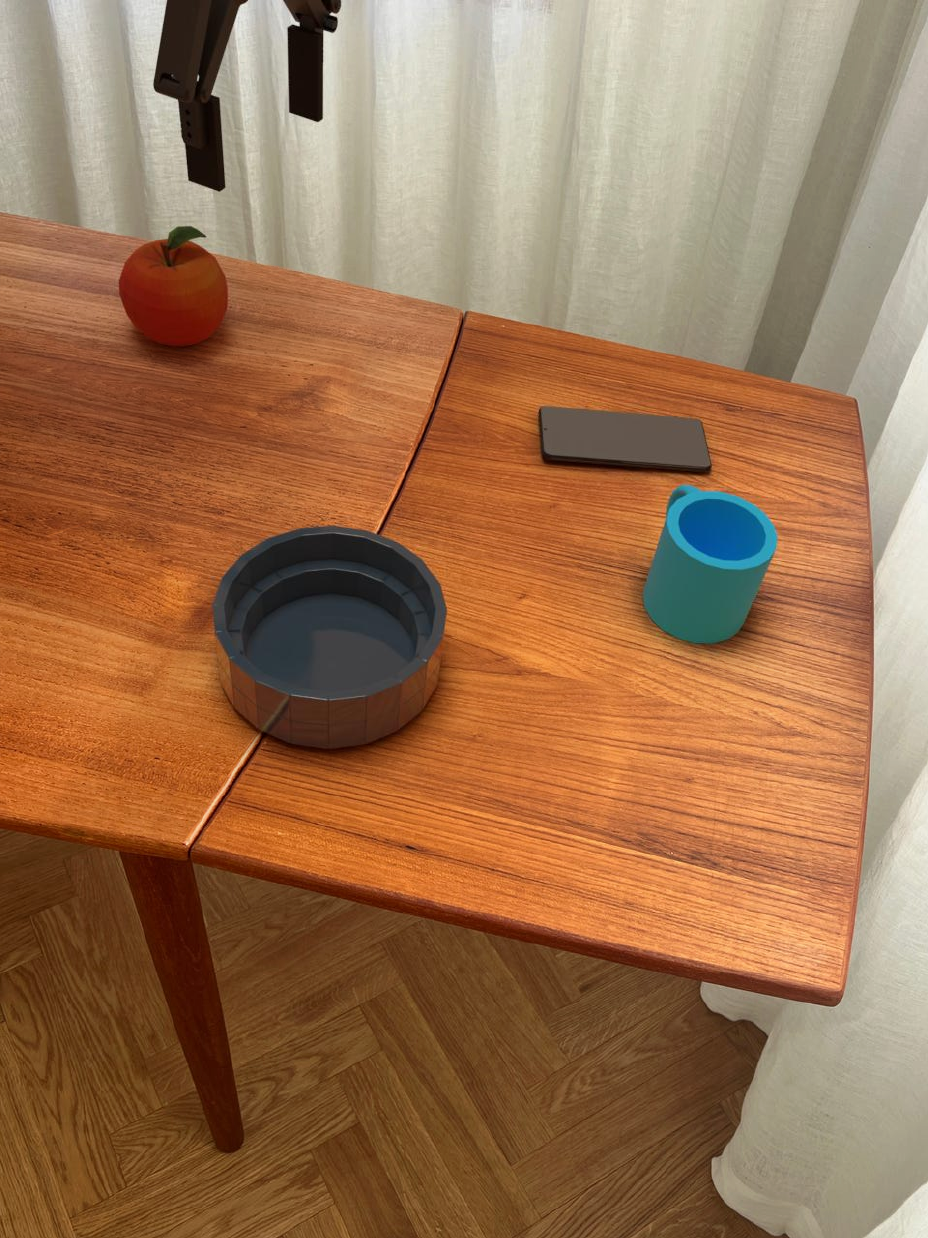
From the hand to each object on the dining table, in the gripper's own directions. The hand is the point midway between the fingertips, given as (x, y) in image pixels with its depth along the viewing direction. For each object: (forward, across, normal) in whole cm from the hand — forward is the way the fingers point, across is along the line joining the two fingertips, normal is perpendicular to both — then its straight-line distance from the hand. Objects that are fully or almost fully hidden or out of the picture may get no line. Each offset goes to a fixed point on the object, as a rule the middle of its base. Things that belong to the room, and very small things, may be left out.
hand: (258, 148), depth 85 cm
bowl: (+21, -26, -22) cm, 40 cm away
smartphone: (+21, +8, -32) cm, 39 cm away
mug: (+21, -5, -42) cm, 47 cm away
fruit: (+21, +1, +10) cm, 24 cm away
